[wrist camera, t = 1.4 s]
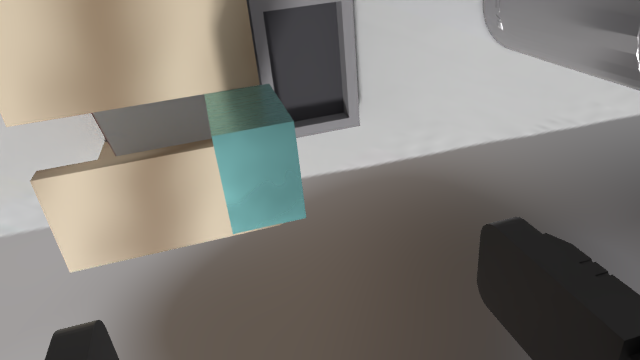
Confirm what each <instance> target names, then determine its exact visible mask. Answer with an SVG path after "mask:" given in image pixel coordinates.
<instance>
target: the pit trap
mask: <svg viewBox="0 0 640 360" xmlns="http://www.w3.org/2000/svg"><path fill="white" fill-rule="evenodd" d="M246 1H247V7H248V14H249V20H250V26H251V33H252V39H253V45H254V52H255V58H256V64H257V71H258V77H259V83H260V85H264V84H270V86H271V87H272V89H273V90H274V92H275V93H276V95H277V96H278V98H279V99H280V101H281V102H282V104H283V105H284V107H285V109H286V110H287V112H288V113H289V115H290V116H291V118H292V119H293V121H294V126H295V134H296V138H298V137H304V136H309V135H314V134H319V133H324V132H330V131H335V130H340V129H345V128H351V127H356V126H360V120H359V103H358V85H357V68H356V50H355V33H354V15H353V0H246Z"/></svg>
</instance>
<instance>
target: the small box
mask: <svg viewBox="0 0 640 360" xmlns="http://www.w3.org/2000/svg"><path fill="white" fill-rule="evenodd" d="M214 93H215V92H214ZM208 94H210V93H208ZM92 115H93V117H94V119H95V121H96V122H97V124H98V126H99V128H100V129H101V131H102V133H103V135H104V137H105V138H106V140H107V142H108V144H109V145H110V147H111V149H112V151H113V153H114V154H115V156H121V155H126V154H132V153H137V152H142V151H148V150H153V149H159V148H164V147H169V146H175V145H180V144H185V143H191V142H196V141H202V140H207V139H212V136H211V131H210V125H209V119H208V113H207V108H206V102H205V96H204V94H202V95H196V96H190V97H184V98H178V99H172V100H166V101H160V102H154V103H148V104H142V105H136V106H130V107H124V108H118V109H112V110H106V111H100V112H94V113H92Z"/></svg>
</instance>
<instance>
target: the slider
mask: <svg viewBox="0 0 640 360" xmlns="http://www.w3.org/2000/svg"><path fill="white" fill-rule="evenodd" d="M204 96H205V102H206V108H207V113H208V119H209V125H210V131H211V136H212V141H213V145H214V150H215V155H216V159H217V164H218V168H219V173H220V177H221V182H222V187H223V191H224V196H225V200H226V205H227V209H228V214H229V219H230V223H231V228H232V232H233V234H236V233H241V232H245V231H250V230H254V229H259V228H263V227H267V226H272V225H276V224H281V223H285V222H289V221H294V220H298V219H303V218H306V213H305V205H304V197H303V190H302V182H301V173H300V165H299V157H298V150H297V142H296V134H295V126H294V121H293V119H292V118H291V116H290V115H289V113H288V112H287V110H286V109H285V107H284V105H283V104H282V102H281V101H280V99H279V98H278V96H277V95H276V93H275V92H274V90H273V89H272V87H271V86H270V84H264V85H258V86H252V87H246V88H245V87H244V88H238V89H232V90H226V91H220V92H216V93H210V94H204Z"/></svg>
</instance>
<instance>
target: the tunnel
mask: <svg viewBox="0 0 640 360" xmlns="http://www.w3.org/2000/svg"><path fill="white" fill-rule="evenodd" d="M256 85H260V83H259V77H258V71H257V64H256V58H255V52H254V45H253V39H252V33H251V26H250V20H249V14H248V7H247V1H246V0H0V113H1V116H2V118H3V120H4V122H5V125H6V127H10V126H16V125H22V124H28V123H34V122H40V121H46V120H52V119H58V118H64V117H70V116H76V115H82V114H88V113H94V112H100V111H106V110H112V109H118V108H124V107H130V106H136V105H142V104H148V103H154V102H160V101H166V100H172V99H178V98H184V97H190V96H196V95H202V94H208V93H214V92H220V91H226V90H232V89H238V88H244V87H250V86H256ZM30 182H31V184H32V187H33V189H34V191H35V193H36V196H37V198H38V200H39V203H40V205H41V207H42V210H43V212H44V214H45V216H46V219H47V221H48V223H49V226H50V228H51V230H52V232H53V235H54V237H55V239H56V242H57V244H58V246H59V248H60V250H61V253H62V255H63V258H64V260H65V262H66V265H67V267H68V269H69V271H70V272H74V271H79V270H83V269H88V268H92V267H97V266H101V265H106V264H110V263H114V262H119V261H123V260H127V259H132V258H136V257H141V256H145V255H149V254H154V253H159V252H163V251H167V250H171V249H176V248H181V247H185V246H189V245H194V244H198V243H203V242H207V241H211V240H216V239H220V238H225V237H229V236H234V235H238V234H242V233H247V232H251V231H256V230H260V229H264V228H269V227H273V226H278V225H281V224H282V223H281V224H276V225H272V226H267V227H263V228H259V229H254V230H250V231H245V232H241V233H236V234H233V232H232V228H231V223H230V219H229V214H228V209H227V205H226V200H225V196H224V191H223V187H222V182H221V177H220V173H219V168H218V164H217V159H216V155H215V150H214V145H213V141H212V139H207V140H202V141H196V142H191V143H185V144H180V145H175V146H169V147H164V148H159V149H153V150H148V151H142V152H137V153H132V154H126V155H121V156H115V154H114V153H113V151H112V149H111V147H110V145H109V144H108V142H104V145H103V148H102V150H101V153H100V156H99V158H98V160H94V161H88V162H83V163H78V164H72V165H67V166H61V167H56V168H51V169H45V170H40V171H36V173H35V174H34V176H33V177H32V179H31V181H30Z"/></svg>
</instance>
